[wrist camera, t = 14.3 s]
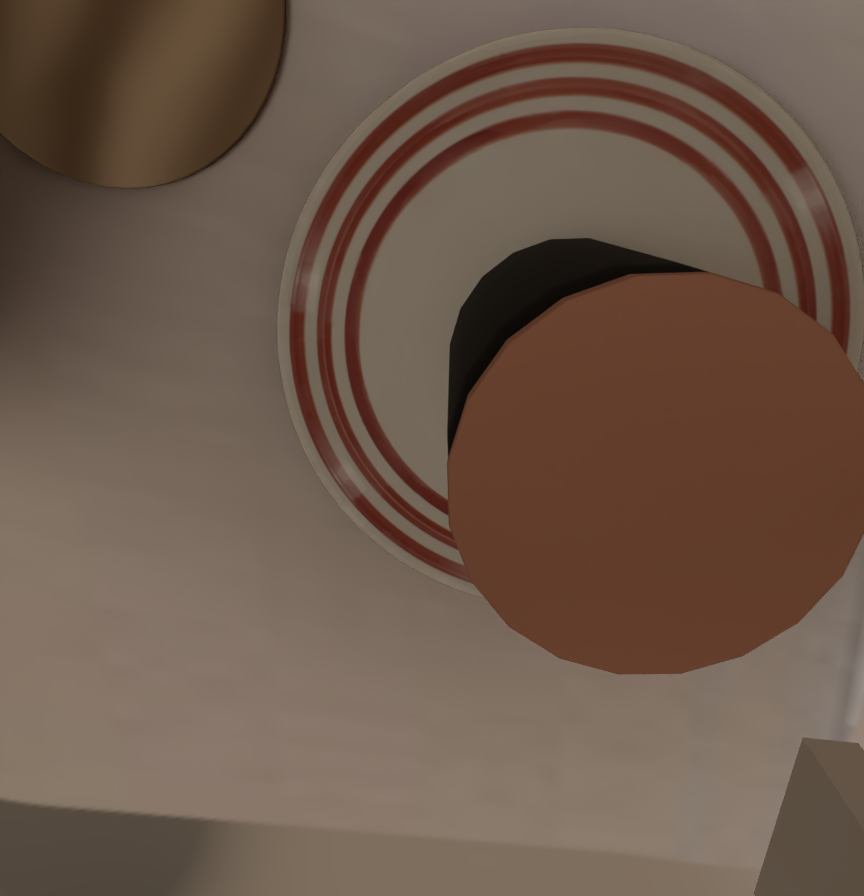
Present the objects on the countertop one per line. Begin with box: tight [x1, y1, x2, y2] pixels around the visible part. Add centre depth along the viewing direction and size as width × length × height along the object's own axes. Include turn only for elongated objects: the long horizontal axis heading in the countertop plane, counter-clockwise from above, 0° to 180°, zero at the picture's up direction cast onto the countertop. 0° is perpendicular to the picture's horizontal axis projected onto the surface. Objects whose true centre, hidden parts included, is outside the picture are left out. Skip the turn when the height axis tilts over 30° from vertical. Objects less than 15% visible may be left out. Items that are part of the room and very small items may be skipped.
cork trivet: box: [0, 0, 286, 188], centre depth 35 cm, size 16×16×1 cm
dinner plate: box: [277, 27, 864, 598], centre depth 38 cm, size 28×27×3 cm
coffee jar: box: [447, 238, 864, 674], centre depth 28 cm, size 11×11×18 cm
